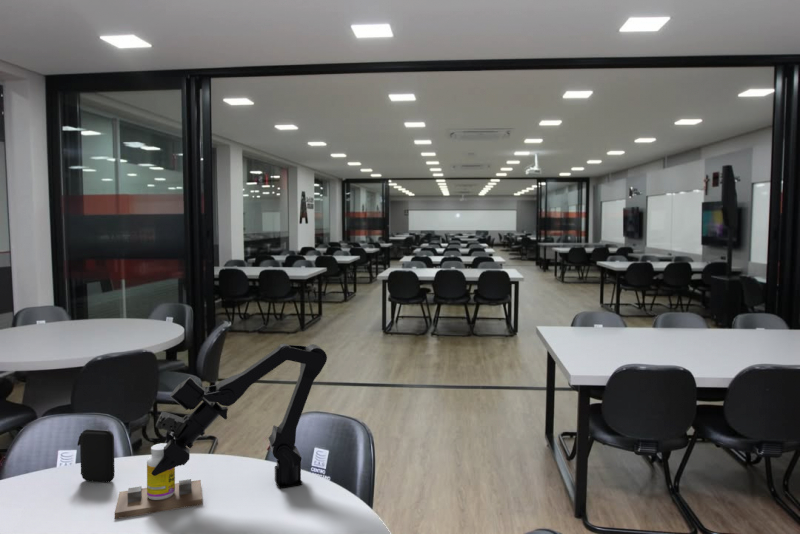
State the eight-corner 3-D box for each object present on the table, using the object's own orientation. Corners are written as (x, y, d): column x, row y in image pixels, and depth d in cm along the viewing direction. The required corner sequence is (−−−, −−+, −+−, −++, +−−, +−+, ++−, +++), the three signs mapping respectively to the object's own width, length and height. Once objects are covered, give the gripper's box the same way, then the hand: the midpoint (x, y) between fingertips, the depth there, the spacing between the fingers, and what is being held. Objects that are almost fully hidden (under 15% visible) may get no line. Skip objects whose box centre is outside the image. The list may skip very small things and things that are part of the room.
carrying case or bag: (74, 482, 151) (73, 430, 151) (82, 478, 154) (81, 426, 154) (110, 485, 150) (109, 432, 149) (117, 480, 153) (116, 428, 152)
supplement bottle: (171, 500, 138) (171, 450, 138) (143, 502, 137) (143, 452, 136) (177, 488, 145) (177, 441, 144) (151, 490, 144) (150, 442, 143)
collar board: (200, 485, 150) (200, 471, 150) (202, 504, 139) (202, 489, 139) (119, 497, 143) (119, 482, 142) (114, 519, 132) (114, 502, 131)
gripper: (177, 392, 150) (133, 436, 146) (174, 412, 132) (124, 462, 129) (207, 417, 153) (165, 460, 150) (208, 440, 135) (161, 490, 132)
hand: (154, 467), depth 140 cm, fingers open, 9 cm apart
